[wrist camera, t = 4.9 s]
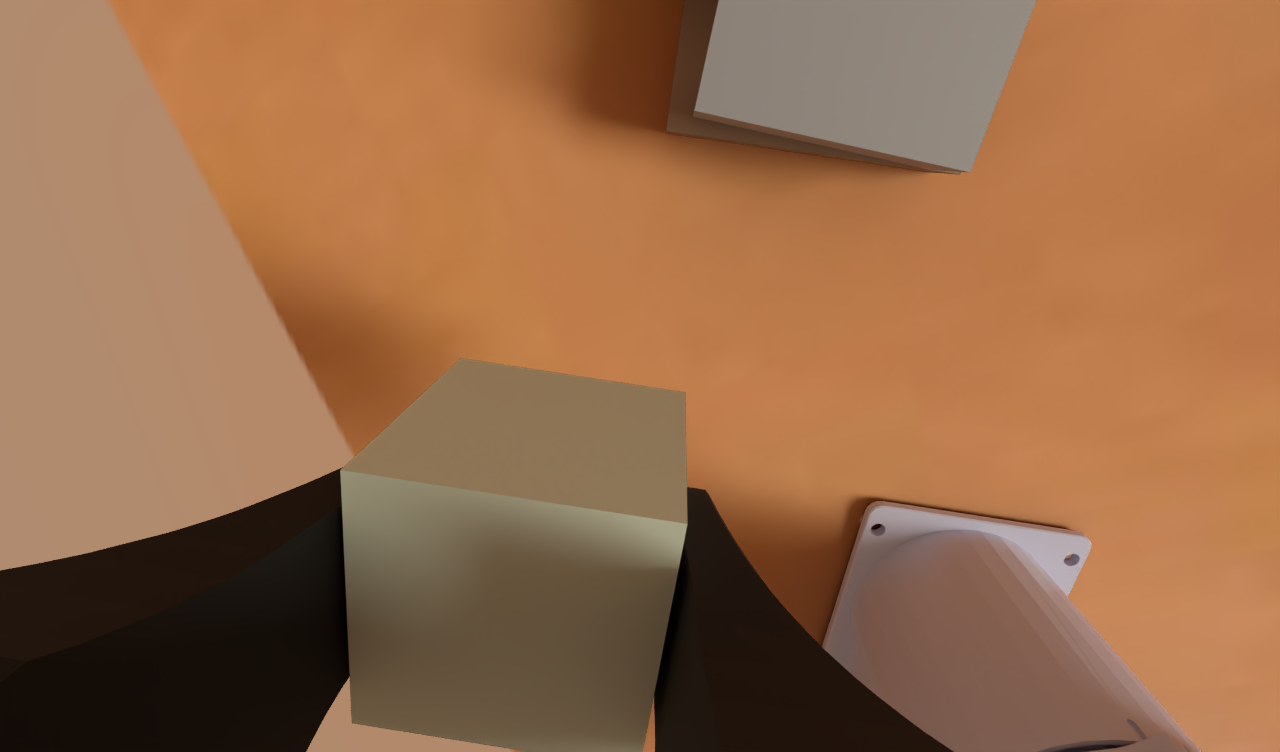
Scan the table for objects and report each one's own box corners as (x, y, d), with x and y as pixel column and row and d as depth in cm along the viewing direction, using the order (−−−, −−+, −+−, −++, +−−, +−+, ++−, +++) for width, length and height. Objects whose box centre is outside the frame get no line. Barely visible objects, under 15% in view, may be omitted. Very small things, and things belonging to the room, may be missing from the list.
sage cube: (652, 576, 13) (639, 769, 9) (454, 545, 14) (351, 722, 9) (685, 392, 12) (687, 524, 8) (460, 357, 12) (340, 470, 8)
